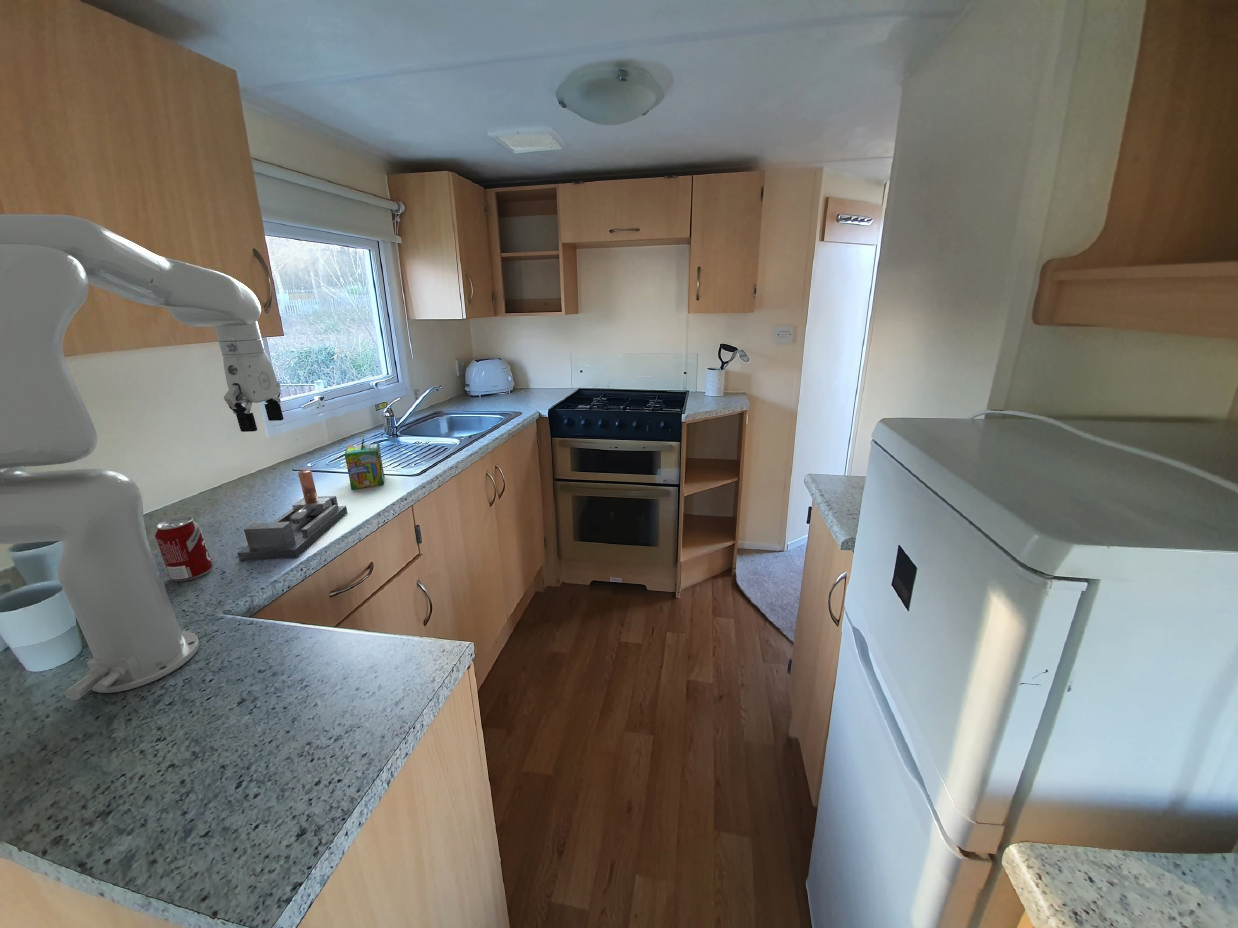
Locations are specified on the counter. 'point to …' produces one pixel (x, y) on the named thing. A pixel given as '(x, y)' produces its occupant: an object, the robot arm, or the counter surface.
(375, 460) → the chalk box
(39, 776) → the counter surface
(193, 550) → the soda can
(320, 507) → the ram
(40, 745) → the counter surface
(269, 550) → the base
